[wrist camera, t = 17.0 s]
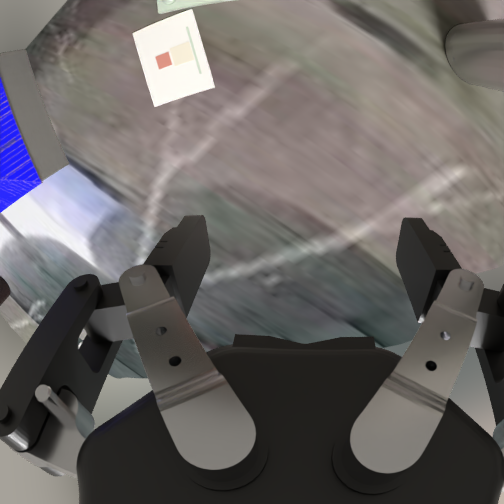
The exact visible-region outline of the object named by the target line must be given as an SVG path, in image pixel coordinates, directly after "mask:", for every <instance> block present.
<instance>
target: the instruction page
mask: <svg viewBox="0 0 504 504" xmlns="http://www.w3.org/2000/svg"><path fill="white" fill-rule="evenodd" d="M133 37H134V40H135V44H136V47H137V51H138V54H139V58H140V61H141V64H142V68H143V71H144V74H145V78H146V81H147V84H148V87H149V91H150V94H151V97H152V100H153V103H154V107H156V106H159V105H162V104H165V103H167V102H170V101H173V100H176V99H179V98H182V97H185V96H188V95H191V94H195V93H198V92H201V91H205V90H208V89H211V88H215V85H214V82H213V78H212V75H211V71H210V68H209V64H208V61H207V57H206V54H205V51H204V47H203V44H202V40H201V37H200V33H199V30H198V27H197V23H196V20H195V17H194V13H193V10H192V9H190V10H187V11H184V12H182V13H179V14H176V15H174V16H171V17H169V18H166V19H164V20H161V21H159V22H156V23H154V24H152V25H149V26H147V27H145V28H143V29H141V30H138V31H136V32H134V33H133Z"/></svg>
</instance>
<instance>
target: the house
mask: <svg viewBox="0 0 504 504" xmlns="http://www.w3.org/2000/svg"><path fill="white" fill-rule="evenodd" d="M68 164H69V162H68V160H67V158H66V156H65V153H64V151H63V149H62V147H61V144H60V142H59V140H58V137H57V135H56V133H55V130H54V128H53V125H52V123H51V120H50V118H49V115H48V113H47V110H46V108H45V105H44V102H43V100H42V97H41V94H40V92H39V89H38V86H37V83H36V80H35V77H34V74H33V71H32V68H31V65H30V62H29V59H28V56H27V52H26V49H24V50H17V51H10V52H4V53H0V213H1V212H2V211H3V210H5V209H6V208H7V207H8V206H10V205H11V204H13V203H14V202H15V201H17V200H18V199H19V198H21V197H22V196H24V195H25V194H26V193H28V192H29V191H31V190H32V189H34V188H35V187H37V186H38V185H39V184H41V183H43V182H42V181H43V180H45V179H46V178H48V177H49V176H51V175H53V174H54V173H56V172H57V171H59V170H60V169H62V168H64V167H65V166H67V165H68Z"/></svg>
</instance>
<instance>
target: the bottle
mask: <svg viewBox="0 0 504 504" xmlns="http://www.w3.org/2000/svg"><path fill="white" fill-rule="evenodd" d="M9 295H10V288H9V286H8V284H7V283H6V282H5V281H4V280H3V279H2V278H1V277H0V306H1V304H2V303H3V302H4V301H5V300H6V298H7V297H8V296H9Z"/></svg>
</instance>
